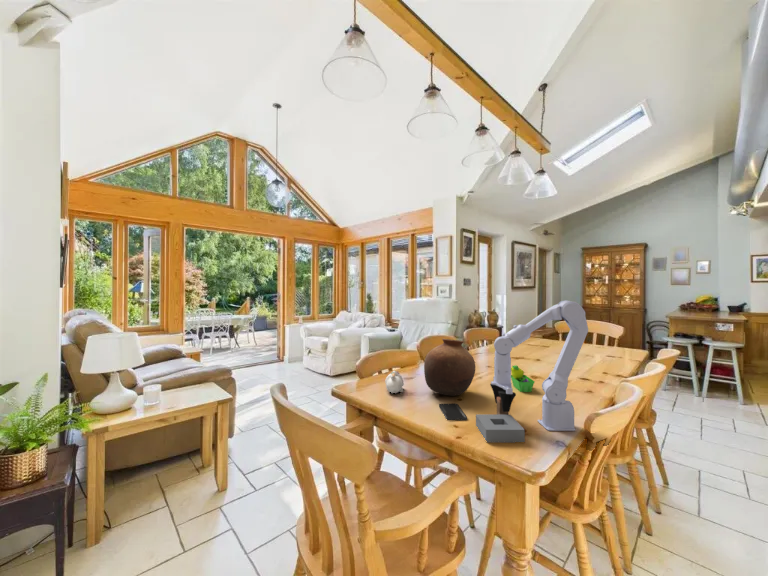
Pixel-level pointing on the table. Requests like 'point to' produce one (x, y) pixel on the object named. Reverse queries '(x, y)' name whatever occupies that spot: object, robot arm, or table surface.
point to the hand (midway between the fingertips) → (502, 407)
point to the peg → (500, 407)
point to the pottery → (449, 368)
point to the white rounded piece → (394, 382)
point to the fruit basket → (521, 380)
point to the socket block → (500, 428)
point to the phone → (452, 411)
